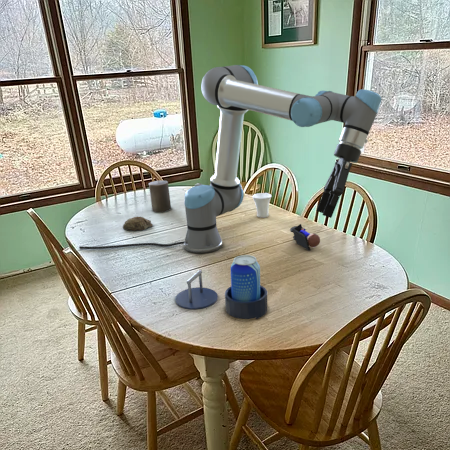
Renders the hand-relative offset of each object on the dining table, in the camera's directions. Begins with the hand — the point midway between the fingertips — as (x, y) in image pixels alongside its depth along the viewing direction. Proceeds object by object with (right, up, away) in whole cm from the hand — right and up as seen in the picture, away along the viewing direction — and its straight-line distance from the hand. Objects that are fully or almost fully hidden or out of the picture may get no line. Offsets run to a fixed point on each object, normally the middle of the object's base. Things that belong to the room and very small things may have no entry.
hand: (323, 214), depth 139 cm
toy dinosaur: (-43, +25, +95) cm, 107 cm away
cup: (-13, +13, +70) cm, 73 cm away
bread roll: (-71, +7, +65) cm, 96 cm away
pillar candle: (-63, +19, +87) cm, 109 cm away
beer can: (-24, -30, -6) cm, 39 cm away
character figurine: (0, -6, +35) cm, 36 cm away
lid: (-40, -27, 0) cm, 48 cm away
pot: (-24, -30, -6) cm, 39 cm away
